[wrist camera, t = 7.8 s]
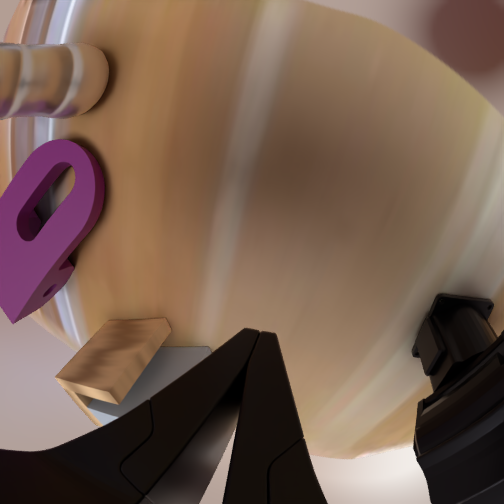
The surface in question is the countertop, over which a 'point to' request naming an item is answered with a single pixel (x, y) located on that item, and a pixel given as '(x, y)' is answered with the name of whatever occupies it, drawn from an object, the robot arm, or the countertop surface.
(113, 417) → the pale grey oblong block
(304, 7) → the countertop surface
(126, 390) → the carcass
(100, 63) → the plastic bottle
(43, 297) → the mounting bracket
